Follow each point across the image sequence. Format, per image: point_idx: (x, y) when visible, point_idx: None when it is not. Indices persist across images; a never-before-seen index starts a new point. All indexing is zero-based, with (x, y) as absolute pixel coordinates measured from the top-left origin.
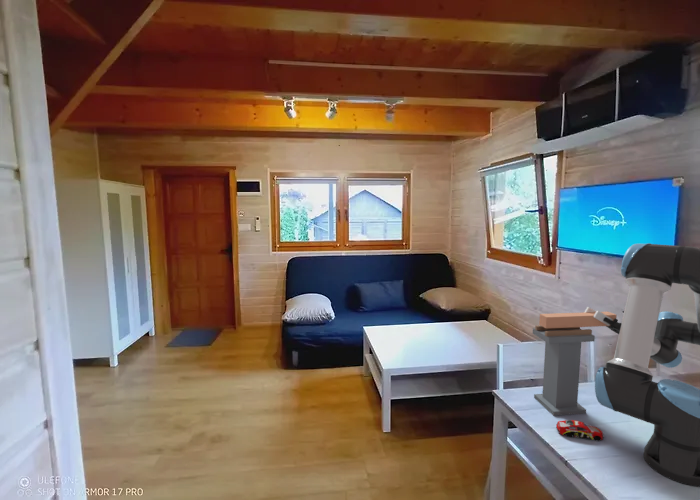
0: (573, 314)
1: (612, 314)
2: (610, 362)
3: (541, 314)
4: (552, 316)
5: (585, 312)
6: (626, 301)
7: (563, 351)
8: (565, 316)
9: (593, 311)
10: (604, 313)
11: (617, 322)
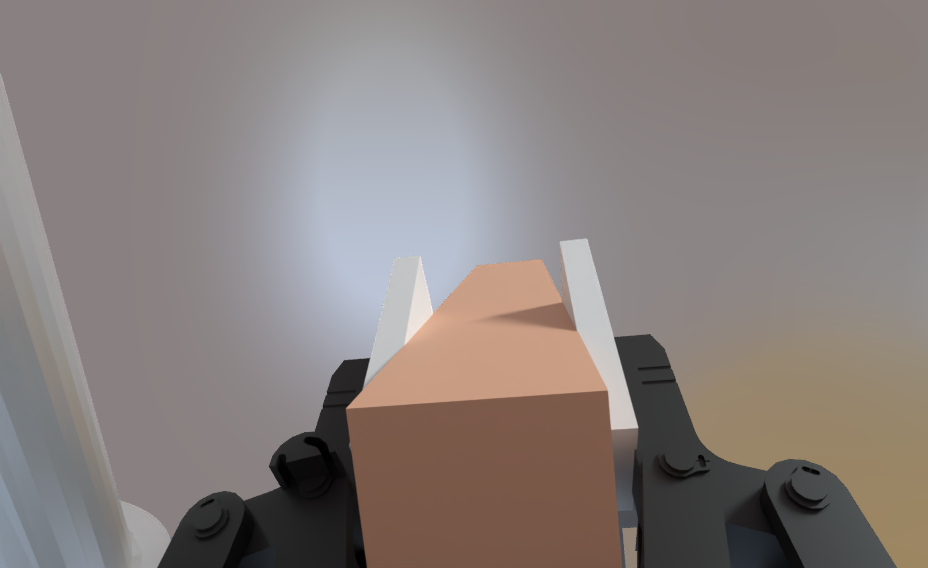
0: (504, 284)
1: (395, 385)
2: (128, 505)
3: (531, 260)
4: (484, 268)
5: (559, 301)
6: (1, 80)
7: None
8: (469, 277)
9: (570, 310)
10: (481, 351)
11: (283, 514)
